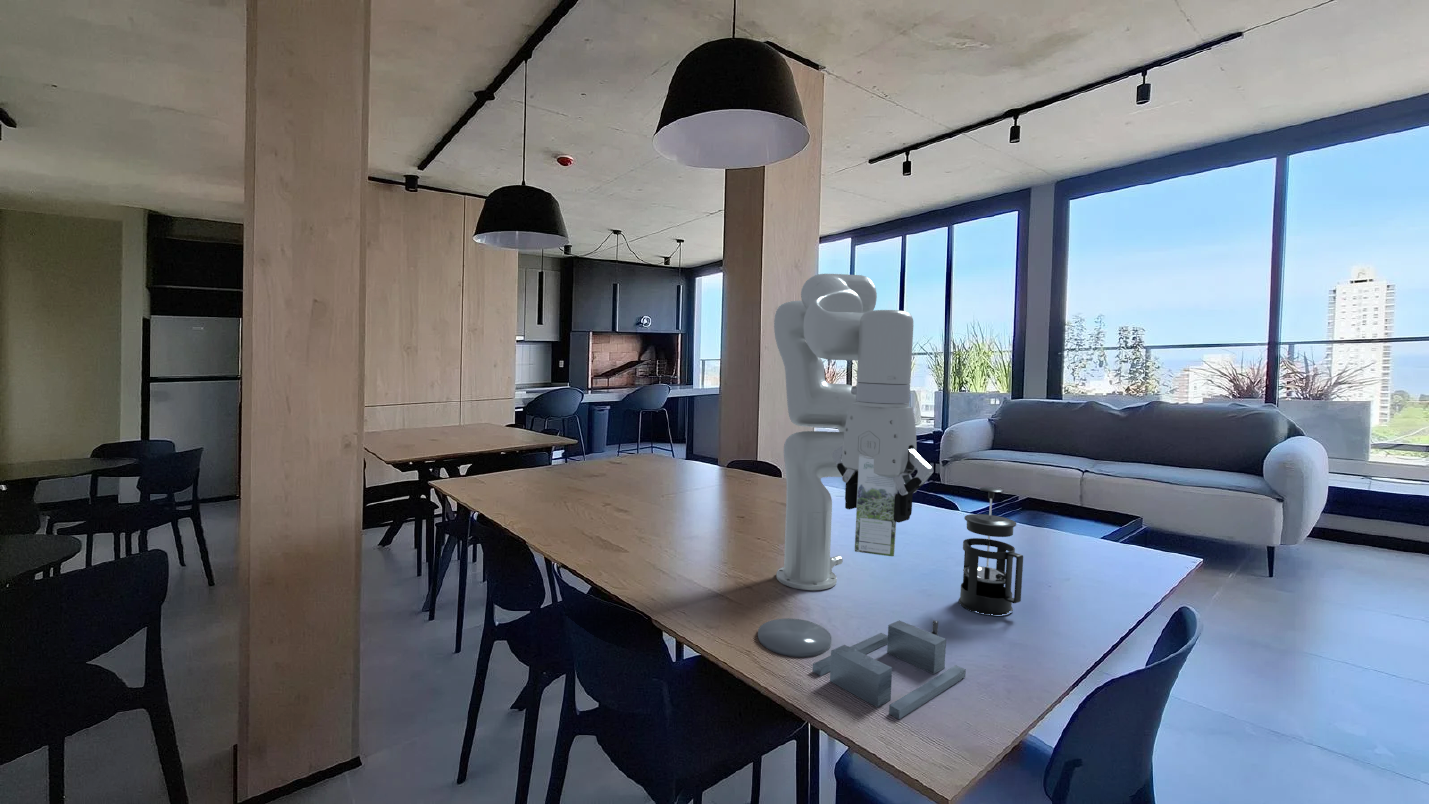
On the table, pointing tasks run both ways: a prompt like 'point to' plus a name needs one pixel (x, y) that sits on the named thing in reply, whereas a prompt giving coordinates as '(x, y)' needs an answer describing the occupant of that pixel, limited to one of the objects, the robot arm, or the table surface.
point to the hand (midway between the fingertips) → (876, 513)
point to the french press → (986, 583)
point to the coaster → (794, 637)
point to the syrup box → (874, 511)
